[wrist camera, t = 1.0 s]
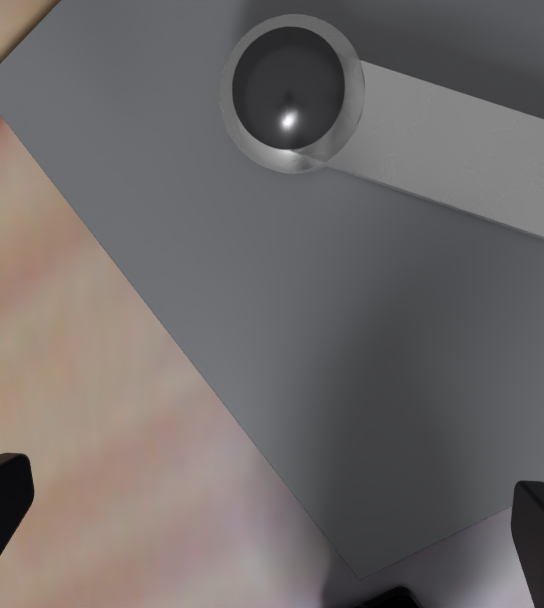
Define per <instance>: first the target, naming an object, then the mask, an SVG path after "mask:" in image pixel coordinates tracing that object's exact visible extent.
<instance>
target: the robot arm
mask: <svg viewBox="0 0 544 608" xmlns="http://www.w3.org/2000/svg"><path fill="white" fill-rule="evenodd" d="M33 499H34V485H33V478H32V472H31V466H30V460H29V458H28V457H27V456H26V455H25V454H21V453H3V454H0V555H1V554H2V552H3V550H4V549H5V547H6V545H7V544H8V542H9V541H10V539H11V537H12V536H13V534H14V532H15V531H16V529H17V528H18V526H19V524H20V523H21V521H22V519H23V518H24V516H25V514H26V513H27V511H28V510H29V508H30V506H31V504H32V502H33ZM511 532H512V537H513V541H514V544H515V547H516V550H517V553H518V556H519V559H520V563H521V566H522V569H523V572H524V575H525V578H526V581H527V585H528V588H529V591H530V594H531V597H532V600H533V603H534V606H535V608H544V482H542V481H527V480H520V481H518V482H517V483H516V485H515V487H514V496H513V506H512V517H511ZM400 599H405V601H399V600H400ZM354 608H423V606H422V605H421V604H420V602H419V601H418V600H417V599H416V597H415V596H414V595H413V593H412V592H411V591H410V590H409V589H407V588H405V587H398V588H395V589H393V590H390V591H388V592H386V593H384V594H382V595H380V596H378V597H376V598H373V599H371V600H369V601H367V602H365V603H363V604H361V605H359V606H357V607H354Z"/></svg>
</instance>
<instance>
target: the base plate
mask: <svg viewBox="0 0 544 608" xmlns="http://www.w3.org/2000/svg"><path fill="white" fill-rule="evenodd" d="M288 14H301V15H308V16H312V17H316V18H319V19H321V20H323V21H326V22H327V23H329V24H331V25H332V26H334V27H335V28H336V29H338V30H339V31H340V32H341V33H342V34H343V35H344V36H345V37H346V38H347V39H348V40H349V42H350V43H351V45H352V46H353V48H354V49H355V51H356V53H357V55H358V57H359V60H362V61H365V62H368V63H371V64H374V65H377V66H380V67H383V68H386V69H389V70H392V71H396V72H399V73H402V74H405V75H408V76H411V77H414V78H417V79H420V80H423V81H426V82H429V83H433V84H436V85H439V86H442V87H445V88H448V89H451V90H454V91H457V92H460V93H463V94H467V95H470V96H473V97H476V98H479V99H482V100H485V101H488V102H491V103H494V104H497V105H501V106H504V107H507V108H510V109H513V110H516V111H519V112H522V113H525V114H528V115H531V116H535V117H538V118H541V119H544V0H61V1H60V2H59V3H58V4H57V5H56V6H55V7H54V8H53V9H52V10H51V11H50V12H49V13H48V15H47V16H46V17H45V18H44V19H43V20H42V21H41V22H40V23H39V24H38V25H37V26H36V27H35V28H34V29H33V30H32V31H31V32H30V33H29V34H28V35H27V36H26V37H25V39H24V40H23V41H22V42H21V43H20V44H19V45H18V46H17V47H16V48H15V49H14V50H13V51H12V52H11V53H10V54H9V55H8V56H7V57H6V58H5V59H4V60H3V61H2V63H1V64H0V115H1V116H2V118H3V119H4V120H5V122H6V123H7V124H8V125H9V127H10V128H11V129H12V131H13V132H14V133H15V135H16V136H17V137H18V138H19V140H20V141H21V142H22V144H23V145H24V146H25V147H26V149H27V150H28V151H29V153H30V154H31V155H32V157H33V158H34V159H35V160H36V162H37V163H38V164H39V166H40V167H41V168H42V169H43V171H44V172H45V173H46V175H47V176H48V177H49V179H50V180H51V181H52V182H53V184H54V185H55V186H56V188H57V189H58V190H59V192H60V193H61V194H62V195H63V197H64V198H65V199H66V201H67V202H68V203H69V204H70V206H71V207H72V208H73V210H74V211H75V212H76V214H77V215H78V216H79V217H80V219H81V220H82V221H83V223H84V224H85V225H86V226H87V228H88V229H89V230H90V232H91V233H92V234H93V236H94V237H95V238H96V239H97V241H98V242H99V243H100V245H101V246H102V247H103V249H104V250H105V251H106V252H107V254H108V255H109V256H110V258H111V259H112V260H113V261H114V263H115V264H116V265H117V267H118V268H119V269H120V271H121V272H122V273H123V274H124V276H125V277H126V278H127V280H128V281H129V282H130V283H131V285H132V286H133V287H134V289H135V290H136V291H137V293H138V294H139V295H140V296H141V298H142V299H143V300H144V302H145V303H146V304H147V306H148V307H149V308H150V309H151V311H152V312H153V313H154V315H155V316H156V317H157V318H158V320H159V321H160V322H161V324H162V325H163V326H164V328H165V329H166V330H167V331H168V333H169V334H170V335H171V337H172V338H173V339H174V340H175V342H176V343H177V344H178V346H179V347H180V348H181V350H182V351H183V352H184V353H185V355H186V356H187V357H188V359H189V360H190V361H191V363H192V364H193V365H194V366H195V368H196V369H197V370H198V372H199V373H200V374H201V375H202V377H203V378H204V379H205V381H206V382H207V383H208V385H209V386H210V387H211V388H212V390H213V391H214V392H215V394H216V395H217V396H218V397H219V399H220V400H221V401H222V403H223V404H224V405H225V407H226V408H227V409H228V410H229V412H230V413H231V414H232V416H233V417H234V418H235V420H236V421H237V422H238V423H239V425H240V426H241V427H242V429H243V430H244V431H245V432H246V434H247V435H248V436H249V438H250V439H251V440H252V442H253V443H254V444H255V445H256V447H257V448H258V449H259V451H260V452H261V453H262V454H263V456H264V457H265V458H266V460H267V461H268V462H269V464H270V465H271V466H272V467H273V469H274V470H275V471H276V473H277V474H278V475H279V477H280V478H281V479H282V480H283V482H284V483H285V484H286V486H287V487H288V488H289V489H290V491H291V492H292V493H293V495H294V496H295V497H296V499H297V500H298V501H299V502H300V504H301V505H302V506H303V508H304V509H305V510H306V511H307V513H308V514H309V515H310V517H311V518H312V519H313V521H314V522H315V523H316V524H317V526H318V527H319V528H320V530H321V531H322V532H323V534H324V535H325V536H326V537H327V539H328V540H329V541H330V543H331V544H332V545H333V546H334V548H335V549H336V550H337V552H338V553H339V554H340V556H341V557H342V558H343V559H344V561H345V562H346V563H347V565H348V566H349V567H350V568H351V570H352V571H353V572H354V574H355V575H356V576H357V578H358V579H359V580H361V579H363V578H365V577H367V576H369V575H371V574H373V573H375V572H377V571H379V570H381V569H383V568H386V567H388V566H390V565H392V564H394V563H396V562H398V561H400V560H402V559H404V558H406V557H408V556H410V555H412V554H414V553H416V552H418V551H420V550H422V549H424V548H426V547H429V546H431V545H433V544H435V543H437V542H439V541H441V540H443V539H445V538H447V537H449V536H451V535H453V534H455V533H457V532H459V531H461V530H463V529H465V528H467V527H469V526H472V525H474V524H476V523H478V522H480V521H482V520H484V519H486V518H488V517H490V516H492V515H494V514H496V513H498V512H500V511H502V510H504V509H506V508H508V507H510V506H512V505H513V496H514V487H515V485H516V483H517V482H518V481H520V480H527V481H542V482H544V240H542V239H540V238H537V237H534V236H531V235H528V234H525V233H522V232H519V231H516V230H513V229H510V228H507V227H504V226H501V225H498V224H495V223H492V222H489V221H486V220H483V219H480V218H478V217H475V216H472V215H469V214H466V213H463V212H460V211H457V210H454V209H451V208H448V207H445V206H442V205H439V204H436V203H433V202H430V201H427V200H424V199H421V198H418V197H416V196H413V195H410V194H407V193H404V192H401V191H398V190H395V189H392V188H389V187H386V186H383V185H380V184H377V183H374V182H371V181H368V180H365V179H362V178H359V177H357V176H354V175H351V174H348V173H345V172H342V171H339V170H336V169H333V168H330V167H327V166H326V167H324V168H322V169H319V170H317V171H314V172H310V173H306V174H285V173H281V172H277V171H274V170H271V169H269V168H266V167H264V166H261V165H259V164H257V163H256V162H254V161H252V160H251V159H250V158H248V157H247V156H246V155H245V154H243V152H242V151H241V150H240V149H239V148H238V147H237V146H236V145H235V143H234V142H233V141H232V139H231V137H230V135H229V134H228V132H227V130H226V127H225V125H224V122H223V118H222V115H221V110H220V101H219V91H220V82H221V77H222V73H223V70H224V67H225V64H226V62H227V59H228V57H229V55H230V53H231V52H232V50H233V49H234V47H235V46H236V44H237V43H238V42H239V41H240V40H241V38H242V37H243V36H244V35H245V34H247V33H248V32H249V31H250V30H251V29H253V28H254V27H255V26H257V25H258V24H260V23H262V22H264V21H266V20H268V19H271V18H274V17H277V16H282V15H288Z"/></svg>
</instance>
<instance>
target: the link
mask: <svg viewBox="0 0 544 608" xmlns="http://www.w3.org/2000/svg"><path fill="white" fill-rule="evenodd" d="M288 26H291V27H300V28H305V29H308V30H311V31H313V32H315V33H316V34H318V35H320V36H321V37H322V38H324V39H325V40H326V41H327V42H328V43H329V44H330V45H331V47H332V48H333V49H334V50H335V52H336V54H337V56H338V57H339V60H340V62H341V65H342V68H343V72H344V79H345V94H344V101H343V105H342V109H341V112H340V114H339V116H338V118H337V120H336V122H335V123H334V125H333V126H332V128H331V129H330V130H329V131H328V132H327V134H326V135H324V136H323V137H322V138H321V139H320V140H318V141H317V142H315V143H313V144H311V145H309V146H307V147H304V148H301V149H296V150H280V149H275V148H272V147H269V146H267V145H265V144H263V143H261V142H259V141H258V140H257V139H255V138H254V137H253V136H252V135H251V134H249V133H248V132H247V130H246V129H245V128H244V127H243V125H242V124H241V122H240V120H239V118H238V116H237V114H236V111H235V108H234V104H233V99H232V81H233V75H234V72H235V68H236V66H237V63H238V61H239V59H240V57H241V56H242V54H243V52H244V51H245V50H246V48H247V47H248V46H249V45H250V44H251V43H252V42H253V41H254V40H255V39H257V38H258V37H259V36H261V35H262V34H264V33H266V32H268V31H270V30H273V29H276V28H280V27H288ZM219 101H220V110H221V115H222V118H223V122H224V125H225V127H226V130H227V132H228V134H229V135H230V137H231V139H232V141H233V142H234V143H235V145H236V146H237V147H238V148H239V149H240V150H241V151H242V152H243V154H245V155H246V156H247V157H248V158H250V159H251V160H252V161H254V162H256V163H257V164H259V165H261V166H264V167H266V168H269V169H271V170H274V171H277V172H281V173H285V174H306V173H310V172H314V171H317V170H319V169H322V168H324V167H326V166H327V167H330V168H333V169H336V170H339V171H342V172H345V173H348V174H351V175H354V176H357V177H359V178H362V179H365V180H368V181H371V182H374V183H377V184H380V185H383V186H386V187H389V188H392V189H395V190H398V191H401V192H404V193H407V194H410V195H413V196H416V197H418V198H421V199H424V200H427V201H430V202H433V203H436V204H439V205H442V206H445V207H448V208H451V209H454V210H457V211H460V212H463V213H466V214H469V215H472V216H475V217H478V218H480V219H483V220H486V221H489V222H492V223H495V224H498V225H501V226H504V227H507V228H510V229H513V230H516V231H519V232H522V233H525V234H528V235H531V236H534V237H537V238H540V239H542V240H544V119H541V118H538V117H535V116H531V115H528V114H525V113H522V112H519V111H516V110H513V109H510V108H507V107H504V106H501V105H497V104H494V103H491V102H488V101H485V100H482V99H479V98H476V97H473V96H470V95H467V94H463V93H460V92H457V91H454V90H451V89H448V88H445V87H442V86H439V85H436V84H433V83H429V82H426V81H423V80H420V79H417V78H414V77H411V76H408V75H405V74H402V73H399V72H396V71H392V70H389V69H386V68H383V67H380V66H377V65H374V64H371V63H368V62H365V61H362V60H359V57H358V55H357V53H356V51H355V49H354V48H353V46H352V45H351V43H350V42H349V40H348V39H347V38H346V37H345V36H344V35H343V34H342V33H341V32H340V31H339V30H338V29H336V28H335V27H334V26H332V25H331V24H329V23H327V22H326V21H323V20H321V19H319V18H316V17H312V16H308V15H301V14H288V15H282V16H277V17H274V18H271V19H268V20H266V21H264V22H262V23H260V24H258V25H257V26H255V27H254V28H253V29H251V30H250V31H249V32H248V33H247V34H245V35H244V36H243V37H242V38H241V40H240V41H239V42H238V43H237V44H236V46H235V47H234V49H233V50H232V52H231V53H230V55H229V57H228V59H227V62H226V64H225V67H224V70H223V73H222V77H221V82H220V91H219Z"/></svg>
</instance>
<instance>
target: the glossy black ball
mask: <svg viewBox="0 0 544 608" xmlns="http://www.w3.org/2000/svg"><path fill="white" fill-rule="evenodd" d="M344 94H345V79H344V72H343V68H342V65H341V62H340V60H339V57H338V56H337V54H336V52H335V50H334V49H333V48H332V47H331V45H330V44H329V43H328V42H327V41H326V40H325V39H324V38H322V37H321V36H320V35H318V34H316V33H315V32H313V31H311V30H308V29H305V28H300V27H291V26H288V27H280V28H276V29H273V30H270V31H268V32H266V33H264V34H262V35H261V36H259V37H258V38H257V39H255V40H254V41H253V42H252V43H251V44H250V45H249V46H248V47H247V48H246V50H245V51H244V52H243V54H242V56H241V57H240V59H239V61H238V63H237V66H236V68H235V72H234V75H233V81H232V99H233V104H234V108H235V111H236V114H237V116H238V118H239V120H240V122H241V124H242V125H243V127H244V128H245V129H246V130H247V132H248V133H249V134H251V135H252V136H253V137H254V138H255V139H257V140H258V141H259V142H261V143H263V144H265V145H267V146H269V147H272V148H275V149H280V150H296V149H301V148H304V147H307V146H309V145H311V144H313V143H315V142H317V141H318V140H320V139H321V138H322V137H323V136H324V135H326V134H327V132H328V131H329V130H330V129H331V128H332V126H333V125H334V123H335V122H336V120H337V118H338V116H339V114H340V112H341V109H342V105H343V101H344Z"/></svg>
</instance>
